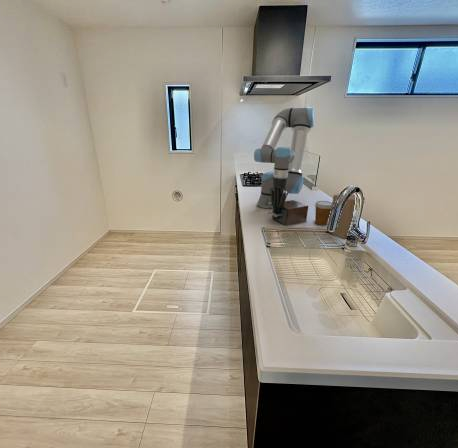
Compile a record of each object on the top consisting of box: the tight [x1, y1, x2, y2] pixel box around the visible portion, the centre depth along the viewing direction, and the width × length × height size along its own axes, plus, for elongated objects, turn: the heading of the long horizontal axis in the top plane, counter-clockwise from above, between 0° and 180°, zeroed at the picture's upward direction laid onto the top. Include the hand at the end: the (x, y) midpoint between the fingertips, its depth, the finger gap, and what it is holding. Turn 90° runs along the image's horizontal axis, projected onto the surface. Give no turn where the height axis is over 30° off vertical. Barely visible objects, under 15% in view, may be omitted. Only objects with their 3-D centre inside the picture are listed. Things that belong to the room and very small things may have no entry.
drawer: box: [267, 207, 287, 225], centre depth 138 cm, size 18×11×8 cm, turn 116°
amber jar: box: [314, 200, 332, 226], centre depth 134 cm, size 10×10×12 cm
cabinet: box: [283, 199, 309, 226], centre depth 139 cm, size 15×13×10 cm
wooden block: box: [326, 193, 366, 239], centre depth 119 cm, size 10×10×20 cm
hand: (275, 218), depth 136 cm, fingers closed
